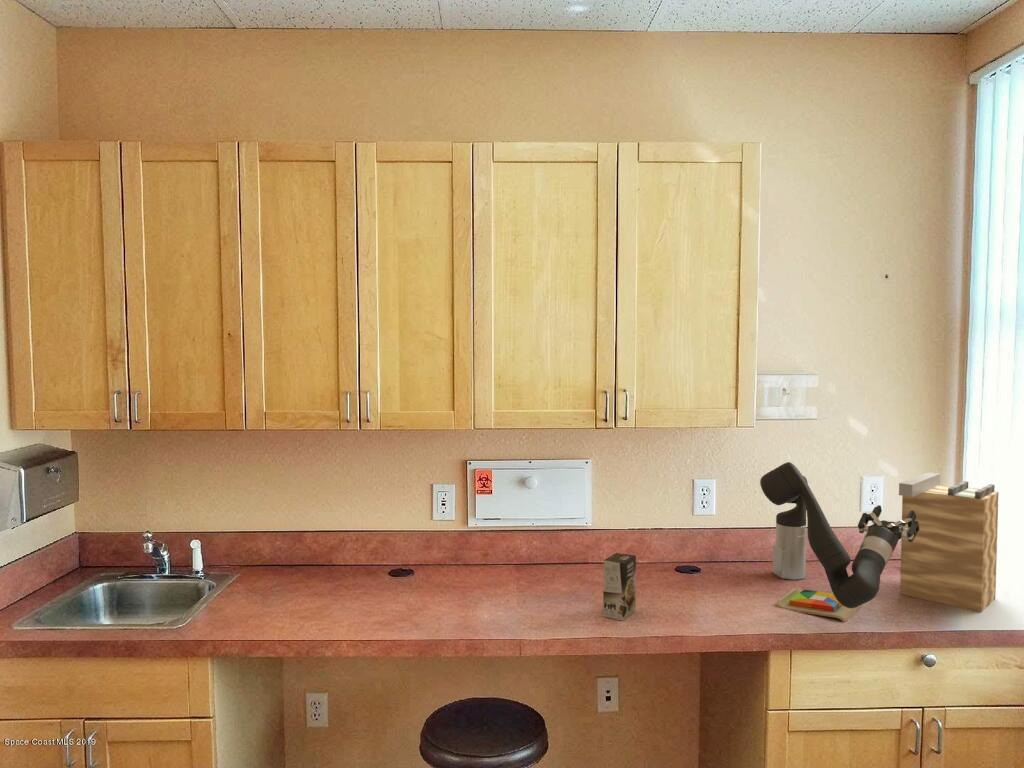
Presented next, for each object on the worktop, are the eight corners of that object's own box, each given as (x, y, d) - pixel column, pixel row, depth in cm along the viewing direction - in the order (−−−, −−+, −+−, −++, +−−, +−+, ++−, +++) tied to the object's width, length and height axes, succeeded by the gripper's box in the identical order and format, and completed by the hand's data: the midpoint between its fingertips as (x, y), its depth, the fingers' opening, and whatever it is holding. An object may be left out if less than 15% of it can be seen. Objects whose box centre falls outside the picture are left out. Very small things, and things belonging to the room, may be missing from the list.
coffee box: (623, 621, 193) (624, 563, 192) (602, 616, 197) (602, 559, 196) (636, 611, 201) (636, 555, 200) (615, 606, 204) (615, 551, 204)
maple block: (981, 612, 199) (984, 492, 198) (900, 593, 214) (902, 482, 213) (995, 598, 210) (998, 485, 209) (917, 581, 226) (920, 476, 224)
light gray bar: (912, 496, 202) (912, 484, 202) (898, 495, 205) (899, 483, 204) (940, 484, 220) (940, 473, 220) (927, 483, 222) (927, 472, 222)
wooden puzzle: (796, 592, 217) (796, 581, 217) (862, 607, 205) (863, 595, 205) (775, 608, 204) (775, 596, 204) (845, 624, 192) (845, 612, 192)
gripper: (903, 542, 182) (922, 503, 191) (846, 532, 192) (867, 495, 202) (908, 564, 185) (926, 524, 194) (851, 553, 195) (871, 516, 204)
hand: (896, 510), depth 198 cm, fingers open, 8 cm apart
